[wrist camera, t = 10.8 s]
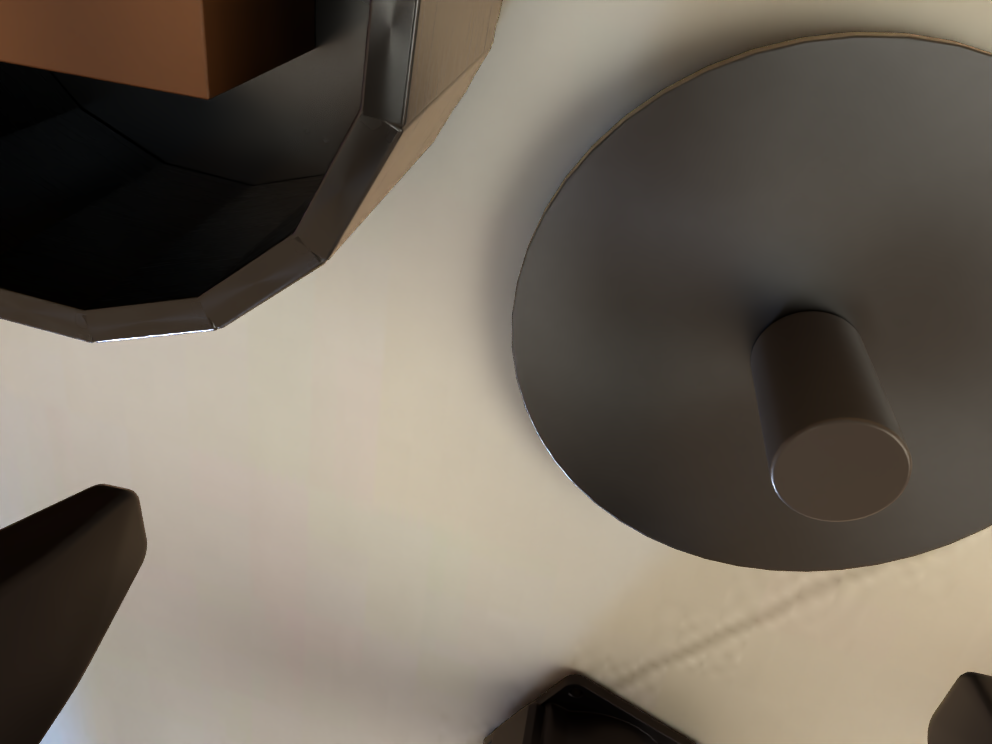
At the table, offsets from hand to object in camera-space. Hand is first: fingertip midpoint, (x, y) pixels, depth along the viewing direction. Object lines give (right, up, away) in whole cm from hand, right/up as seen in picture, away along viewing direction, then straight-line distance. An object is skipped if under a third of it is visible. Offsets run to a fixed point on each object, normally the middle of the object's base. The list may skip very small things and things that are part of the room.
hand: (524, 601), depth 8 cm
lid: (+7, +3, +11) cm, 14 cm away
